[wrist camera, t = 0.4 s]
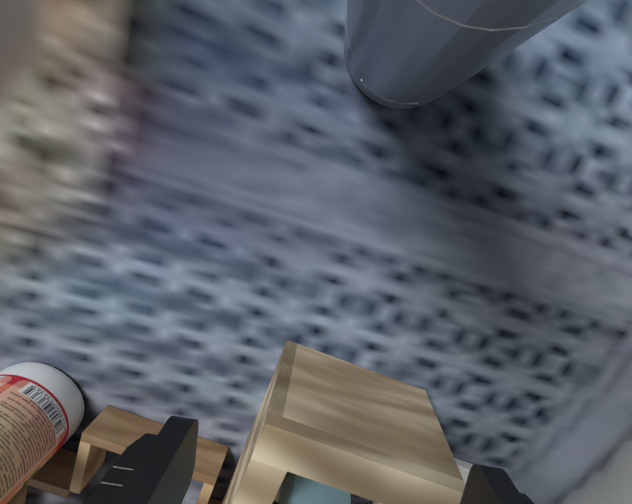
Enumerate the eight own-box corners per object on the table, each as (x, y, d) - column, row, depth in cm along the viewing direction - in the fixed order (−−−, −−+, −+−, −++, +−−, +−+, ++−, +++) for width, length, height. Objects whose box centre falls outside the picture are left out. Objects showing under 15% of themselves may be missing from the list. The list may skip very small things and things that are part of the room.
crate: (287, 339, 29) (265, 423, 20) (425, 390, 30) (469, 495, 20) (220, 505, 35) (178, 633, 25) (338, 544, 36) (341, 684, 26)
